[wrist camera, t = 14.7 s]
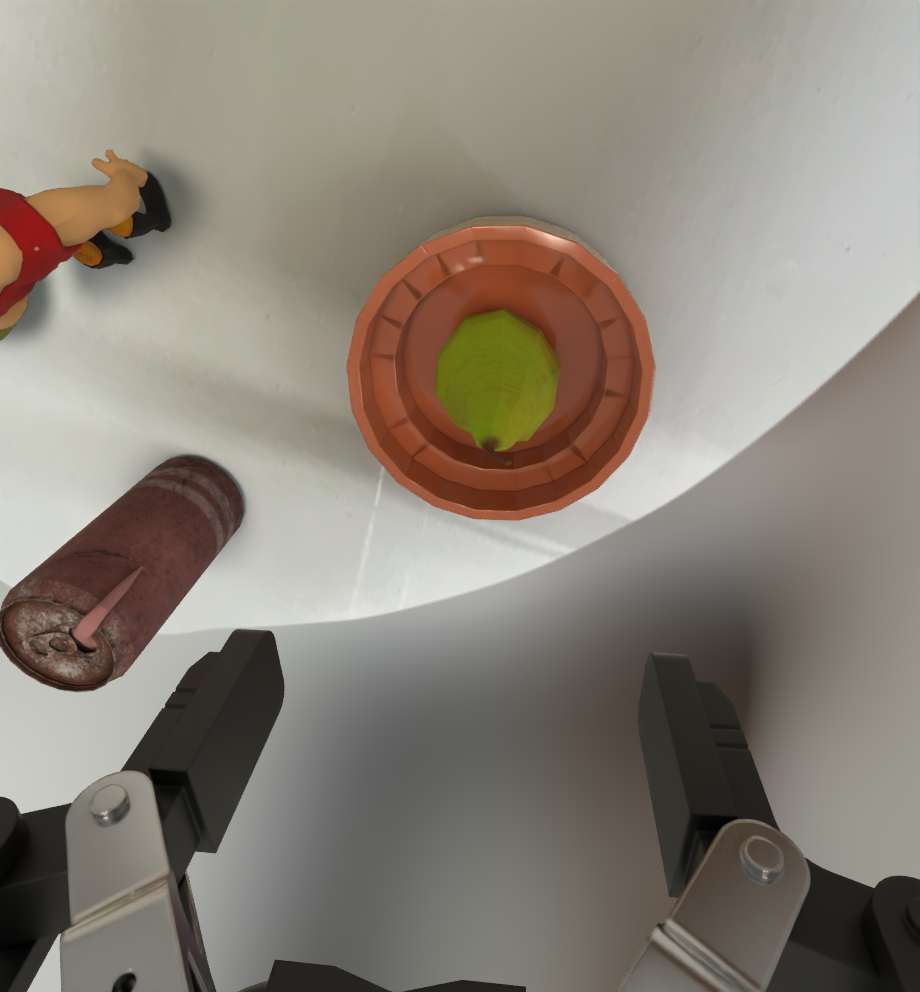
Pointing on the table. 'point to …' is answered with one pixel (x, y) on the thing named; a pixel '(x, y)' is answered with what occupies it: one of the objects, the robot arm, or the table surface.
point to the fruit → (497, 379)
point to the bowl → (542, 302)
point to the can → (119, 577)
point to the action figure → (73, 228)
